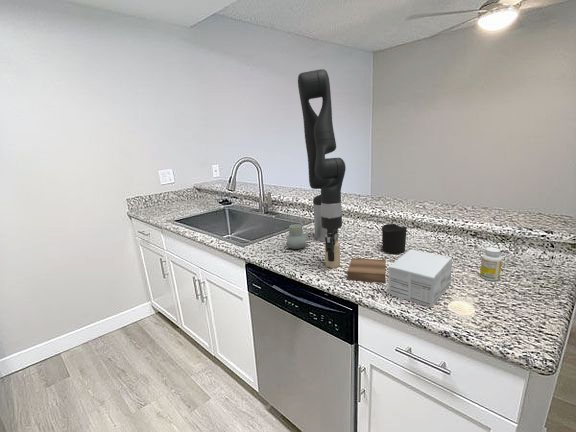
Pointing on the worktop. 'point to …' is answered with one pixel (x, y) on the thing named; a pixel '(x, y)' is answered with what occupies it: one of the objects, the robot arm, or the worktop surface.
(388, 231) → the pen holder
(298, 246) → the air freshener
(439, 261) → the supplement box
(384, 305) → the worktop surface
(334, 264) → the candle
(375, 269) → the walnut pedestal
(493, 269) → the supplement bottle
